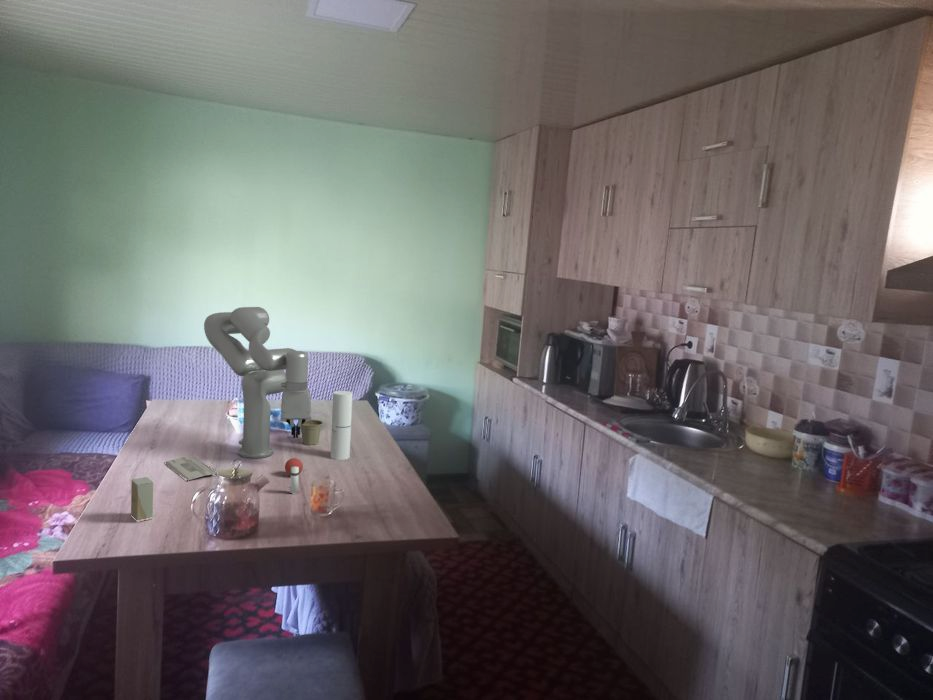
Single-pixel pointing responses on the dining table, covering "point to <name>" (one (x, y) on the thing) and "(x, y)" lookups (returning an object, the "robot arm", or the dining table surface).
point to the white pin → (294, 479)
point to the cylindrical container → (341, 425)
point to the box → (141, 498)
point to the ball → (292, 463)
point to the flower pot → (311, 432)
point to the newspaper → (190, 467)
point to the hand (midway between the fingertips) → (295, 436)
